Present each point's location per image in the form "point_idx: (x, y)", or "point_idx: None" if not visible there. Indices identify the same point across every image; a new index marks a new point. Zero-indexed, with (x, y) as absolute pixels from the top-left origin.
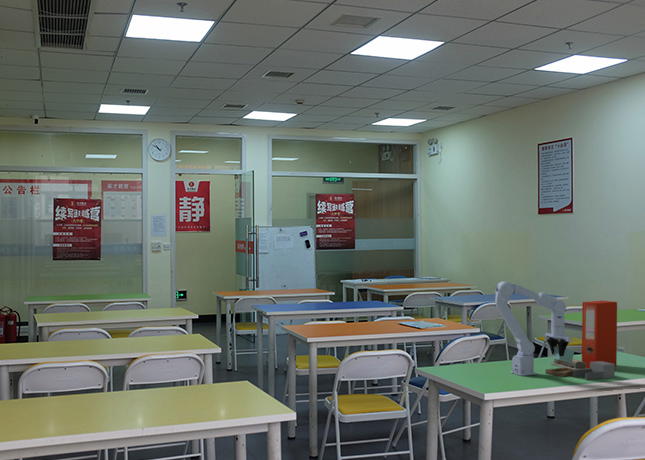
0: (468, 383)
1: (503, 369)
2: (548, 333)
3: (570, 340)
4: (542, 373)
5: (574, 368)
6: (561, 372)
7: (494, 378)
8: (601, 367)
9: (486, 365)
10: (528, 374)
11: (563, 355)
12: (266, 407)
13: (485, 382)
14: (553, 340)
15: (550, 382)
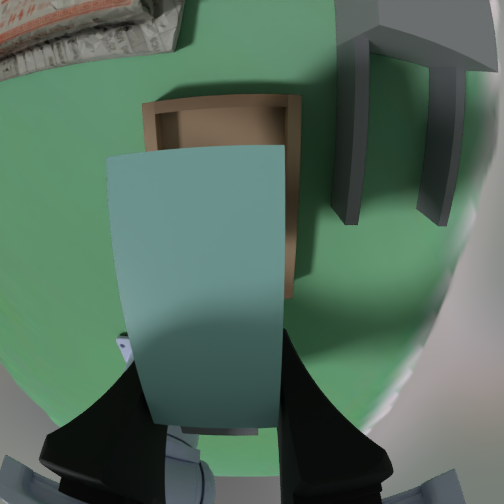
0: (247, 471)
1: (77, 367)
2: (5, 499)
3: (450, 485)
4: None
5: (152, 28)
6: (290, 278)
7: (217, 442)
8: (470, 65)
9: (21, 359)
10: None
11: (286, 334)
12: None
13: (252, 460)
14: (147, 491)
15: (350, 373)
